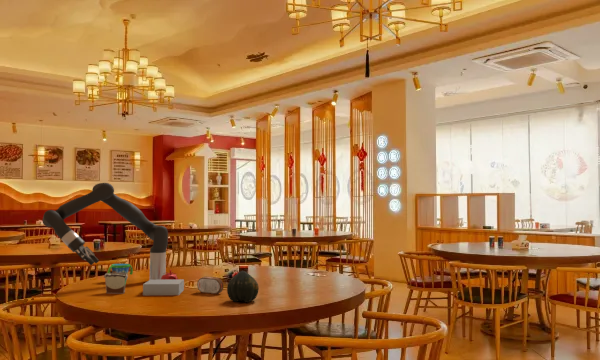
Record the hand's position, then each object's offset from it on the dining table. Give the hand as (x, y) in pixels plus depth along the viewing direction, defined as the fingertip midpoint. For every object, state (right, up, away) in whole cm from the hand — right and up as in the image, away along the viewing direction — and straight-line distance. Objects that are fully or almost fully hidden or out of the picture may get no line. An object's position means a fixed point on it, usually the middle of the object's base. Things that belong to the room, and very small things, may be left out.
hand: (95, 263), depth 266 cm
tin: (+60, -16, 0) cm, 62 cm away
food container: (+12, -16, +1) cm, 19 cm away
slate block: (+36, -16, +1) cm, 39 cm away
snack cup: (-1, -17, +38) cm, 42 cm away
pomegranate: (+33, -17, +21) cm, 43 cm away
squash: (+79, -15, -21) cm, 83 cm away
